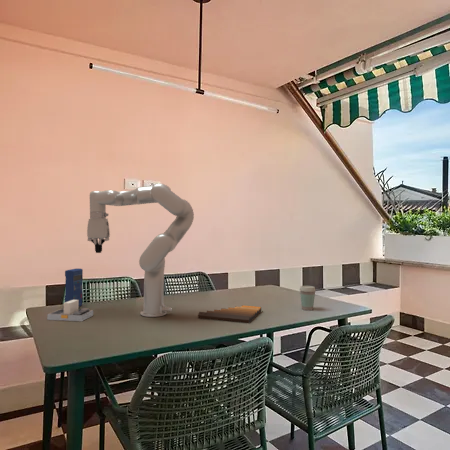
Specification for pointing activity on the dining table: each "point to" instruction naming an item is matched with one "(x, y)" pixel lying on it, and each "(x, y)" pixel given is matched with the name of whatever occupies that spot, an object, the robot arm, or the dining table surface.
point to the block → (71, 307)
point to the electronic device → (73, 285)
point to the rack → (76, 316)
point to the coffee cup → (307, 297)
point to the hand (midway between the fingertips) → (98, 252)
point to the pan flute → (232, 314)
